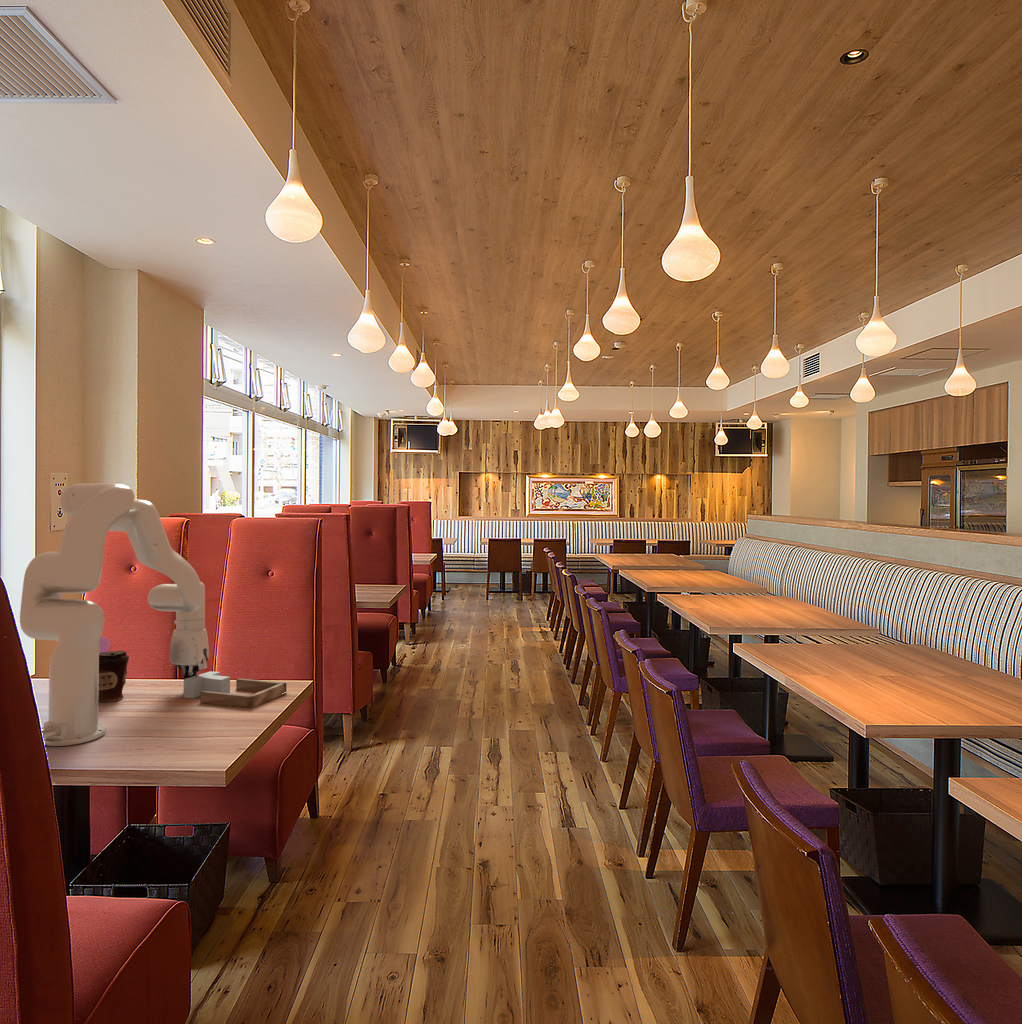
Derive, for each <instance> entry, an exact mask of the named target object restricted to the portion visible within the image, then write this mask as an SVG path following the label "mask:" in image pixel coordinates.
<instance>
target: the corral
mask: <svg viewBox="0 0 1022 1024" xmlns="http://www.w3.org/2000/svg"><path fill="white" fill-rule="evenodd" d="M235 687H236V688H235V690H237V691H249V692H255V693H253V694H251V695H249V694H240V693H232V692H230V693H222V692H212V691H202V692H201V696H200V703H201V704H208V705H217V706H218V705H219V706H226V707H235V708H236V707H237V708H242V709H243V708H245V709H253V708H254V707H257V706H260V705H263V704H265V703H266V702H269V701H271V699H272V700H274V699H276V698H278V697H277V696H279V695H281V694H282V693H284V692H286V693H287V682H282V681H273V680H272V681H271V680H260V679H251V678H250V679H249V678H241V677H239V678H236V683H235ZM256 691H257V692H256ZM281 696H282V695H281ZM275 697H276V698H275ZM279 697H280V696H279ZM273 698H274V699H273Z"/></svg>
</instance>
